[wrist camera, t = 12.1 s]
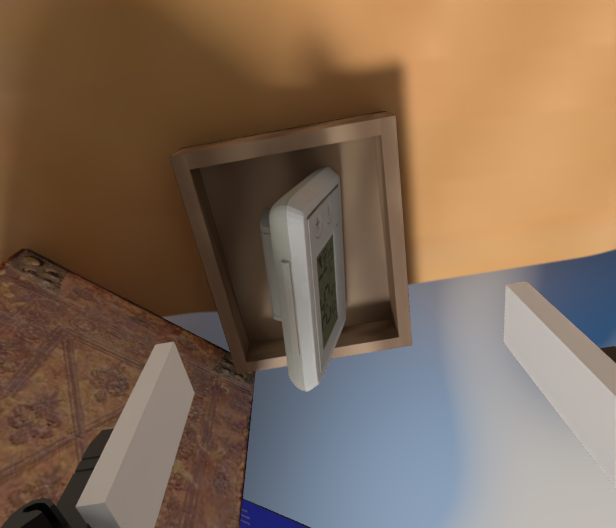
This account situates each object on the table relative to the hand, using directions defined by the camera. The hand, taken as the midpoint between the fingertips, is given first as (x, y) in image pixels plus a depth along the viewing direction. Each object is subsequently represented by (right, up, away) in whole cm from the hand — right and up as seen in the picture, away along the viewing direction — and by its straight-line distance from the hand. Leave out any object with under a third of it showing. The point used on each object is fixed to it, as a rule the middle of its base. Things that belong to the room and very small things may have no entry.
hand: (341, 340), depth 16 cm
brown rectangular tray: (-2, +5, +23) cm, 23 cm away
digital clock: (-1, +4, +22) cm, 23 cm away
